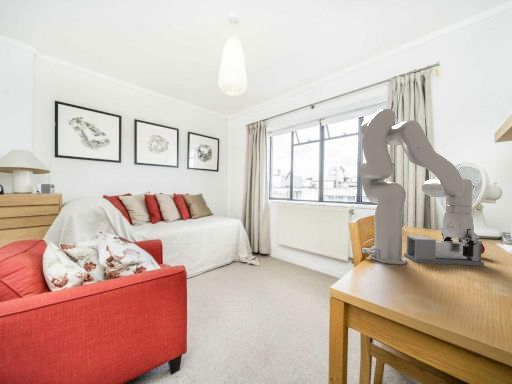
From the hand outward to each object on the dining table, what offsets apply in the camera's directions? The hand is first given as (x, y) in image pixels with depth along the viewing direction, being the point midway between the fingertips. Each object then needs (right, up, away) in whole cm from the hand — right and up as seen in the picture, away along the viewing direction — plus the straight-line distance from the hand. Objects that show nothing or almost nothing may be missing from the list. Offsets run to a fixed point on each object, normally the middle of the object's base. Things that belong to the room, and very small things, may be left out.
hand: (457, 252), depth 85 cm
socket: (+4, -2, -1) cm, 5 cm away
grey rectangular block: (-3, -2, 0) cm, 4 cm away
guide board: (-6, -3, +1) cm, 7 cm away
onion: (+14, -4, +6) cm, 16 cm away
